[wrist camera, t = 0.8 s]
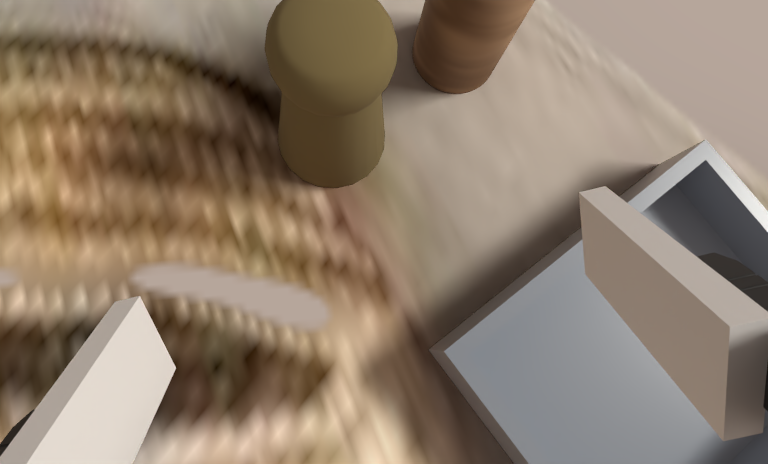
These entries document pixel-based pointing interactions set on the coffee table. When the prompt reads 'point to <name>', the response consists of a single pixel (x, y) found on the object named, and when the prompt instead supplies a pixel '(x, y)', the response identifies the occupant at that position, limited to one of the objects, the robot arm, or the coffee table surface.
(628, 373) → the tote
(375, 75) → the cork
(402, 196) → the coffee table surface
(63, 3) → the coffee table surface
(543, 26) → the coffee table surface
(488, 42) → the walnut cylinder
